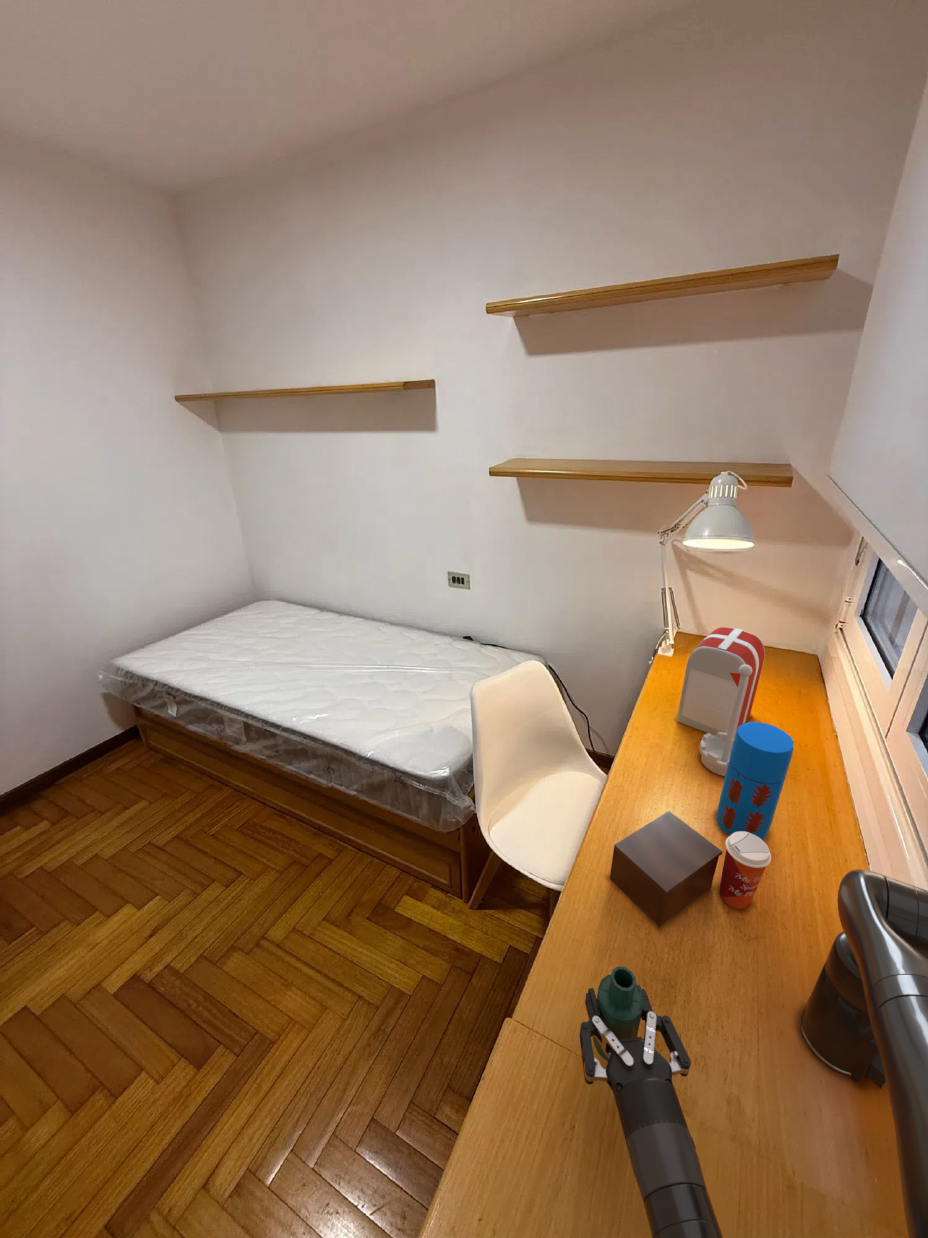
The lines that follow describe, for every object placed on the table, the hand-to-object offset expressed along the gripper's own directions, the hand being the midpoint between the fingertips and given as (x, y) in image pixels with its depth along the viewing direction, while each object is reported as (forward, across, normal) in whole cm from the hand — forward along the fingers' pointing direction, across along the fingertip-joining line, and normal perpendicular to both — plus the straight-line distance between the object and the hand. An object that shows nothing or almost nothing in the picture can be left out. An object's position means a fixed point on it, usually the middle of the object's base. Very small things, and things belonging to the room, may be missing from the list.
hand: (613, 990), depth 75 cm
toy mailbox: (+81, +58, -13) cm, 100 cm away
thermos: (+40, +44, -13) cm, 61 cm away
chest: (+26, +19, -13) cm, 35 cm away
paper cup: (+22, +33, -13) cm, 42 cm away
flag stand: (+61, +51, -13) cm, 80 cm away
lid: (+27, +20, -4) cm, 33 cm away
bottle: (-2, 0, -8) cm, 9 cm away
